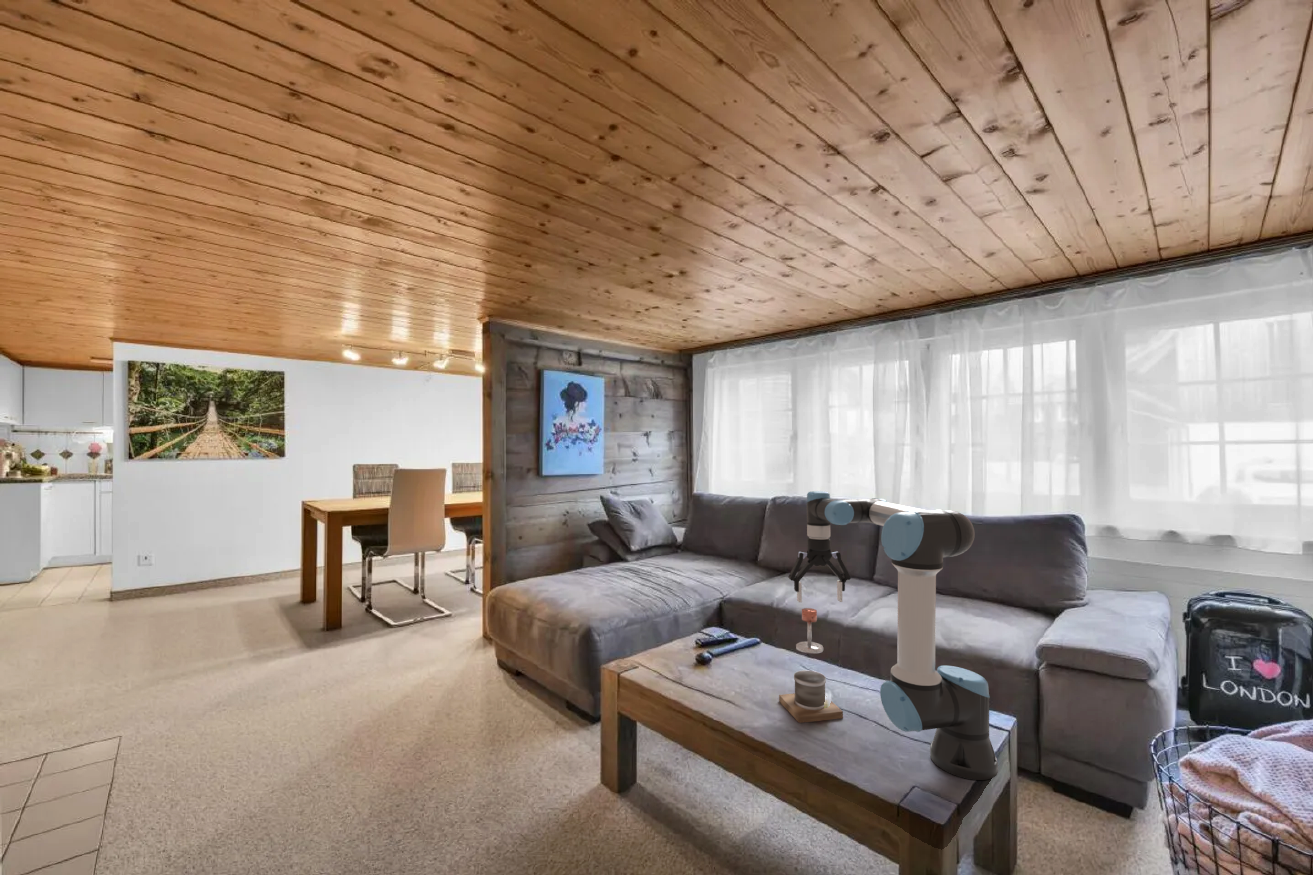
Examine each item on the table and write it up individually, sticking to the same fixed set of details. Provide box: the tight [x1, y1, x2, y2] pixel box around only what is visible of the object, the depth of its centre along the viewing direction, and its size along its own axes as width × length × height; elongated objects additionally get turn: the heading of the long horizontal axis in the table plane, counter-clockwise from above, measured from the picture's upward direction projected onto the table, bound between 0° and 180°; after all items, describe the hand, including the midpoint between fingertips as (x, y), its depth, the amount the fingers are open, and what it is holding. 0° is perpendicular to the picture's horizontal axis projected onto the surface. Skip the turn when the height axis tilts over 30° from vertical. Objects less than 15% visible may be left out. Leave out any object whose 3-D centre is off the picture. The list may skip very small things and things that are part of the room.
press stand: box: [778, 669, 844, 724], centre depth 169 cm, size 14×14×10 cm
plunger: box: [795, 607, 824, 655], centre depth 170 cm, size 8×8×12 cm
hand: (819, 601), depth 185 cm, fingers open, 13 cm apart
